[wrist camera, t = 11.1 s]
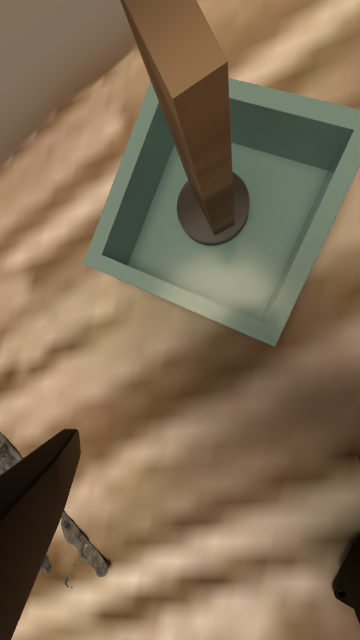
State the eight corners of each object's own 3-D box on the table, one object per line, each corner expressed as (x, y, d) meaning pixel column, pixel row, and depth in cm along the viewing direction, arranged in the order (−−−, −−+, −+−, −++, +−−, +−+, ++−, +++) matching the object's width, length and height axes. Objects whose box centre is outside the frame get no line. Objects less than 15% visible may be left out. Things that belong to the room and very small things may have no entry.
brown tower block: (260, 224, 19) (309, 31, 6) (197, 257, 20) (122, 154, 7) (230, 163, 19) (213, -144, 6) (169, 199, 20) (49, -2, 7)
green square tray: (344, 168, 18) (383, 115, 13) (265, 338, 20) (274, 346, 15) (176, 120, 21) (158, 60, 16) (117, 274, 22) (83, 263, 17)
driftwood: (-58, 431, 27) (-82, 441, 25) (-23, 387, 26) (-45, 394, 24) (71, 595, 25) (56, 620, 23) (116, 555, 24) (104, 578, 22)
